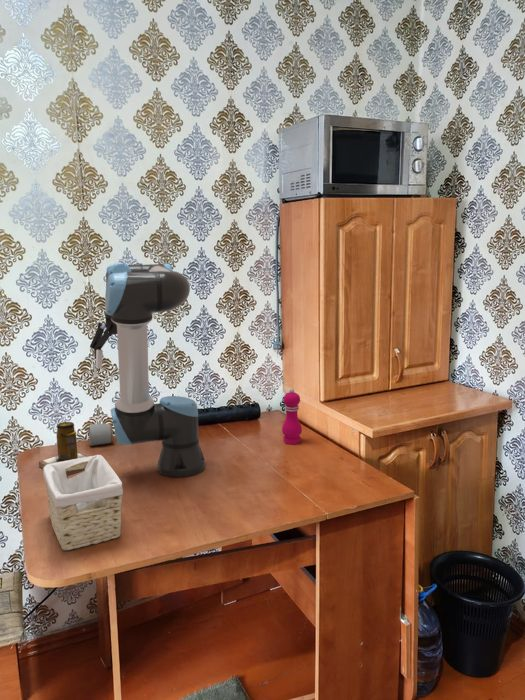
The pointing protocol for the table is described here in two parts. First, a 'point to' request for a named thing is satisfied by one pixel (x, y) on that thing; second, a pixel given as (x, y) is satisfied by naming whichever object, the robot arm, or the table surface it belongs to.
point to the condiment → (66, 442)
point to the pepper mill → (291, 418)
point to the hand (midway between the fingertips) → (114, 367)
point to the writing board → (53, 460)
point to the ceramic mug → (100, 434)
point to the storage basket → (84, 501)
